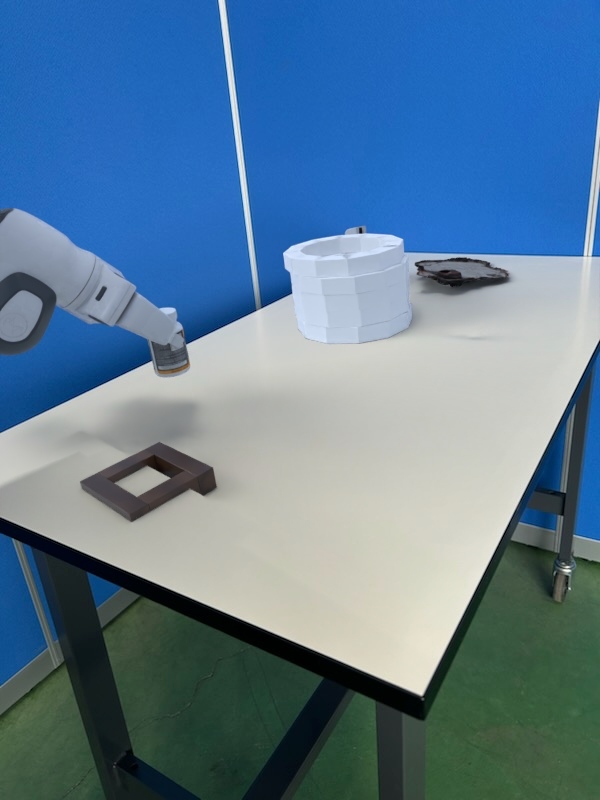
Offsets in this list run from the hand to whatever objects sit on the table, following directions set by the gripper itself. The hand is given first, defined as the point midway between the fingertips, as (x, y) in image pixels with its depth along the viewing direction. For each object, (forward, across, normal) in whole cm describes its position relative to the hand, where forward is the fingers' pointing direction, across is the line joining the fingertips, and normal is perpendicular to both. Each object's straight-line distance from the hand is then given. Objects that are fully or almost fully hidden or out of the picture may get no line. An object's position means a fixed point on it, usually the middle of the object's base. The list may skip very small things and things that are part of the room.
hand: (170, 338), depth 97 cm
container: (+39, -10, +23) cm, 46 cm away
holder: (-2, +21, -19) cm, 28 cm away
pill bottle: (+4, 0, -4) cm, 6 cm away
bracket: (+53, -29, +37) cm, 71 cm away
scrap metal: (+66, -13, +50) cm, 84 cm away
